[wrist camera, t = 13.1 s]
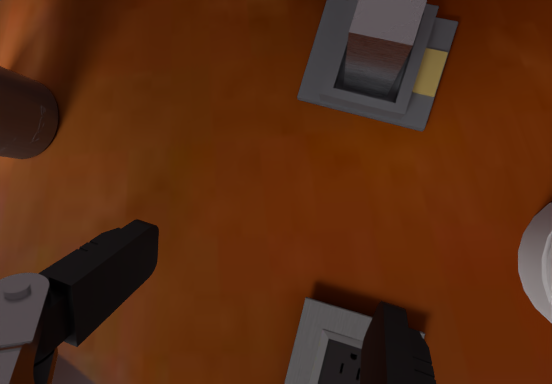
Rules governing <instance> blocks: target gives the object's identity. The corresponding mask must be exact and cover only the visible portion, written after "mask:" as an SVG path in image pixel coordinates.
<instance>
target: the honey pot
mask: <svg viewBox="0 0 552 384" xmlns="http://www.w3.org/2000/svg"><path fill="white" fill-rule="evenodd" d="M518 272H519V275H520V278H521V282H522V285H523V288H524V291H525V292H526V294H527V296H528V297H529V299H530V300H531V302H532V303H533V305H534V307H535V308H536V309H537V310H538V311H539V312H540V313H541V314H542V315H543V316H545V317H546V318H547V319H548V320H549V321H550V322H551V323H552V202H551V203H549V204H548V205H547V206H545V207H544V208H543V209H542V210H541V211H540V212H539V213H538V214H537V215H535V216H534V217H533V219H532V221H531V222H530V224H529V225H528V227H527V228H526V230H525V232H524V233H523V236H522V240H521V243H520V247H519V250H518Z"/></svg>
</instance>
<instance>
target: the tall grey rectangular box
mask: <svg viewBox="0 0 552 384" xmlns="http://www.w3.org/2000/svg"><path fill="white" fill-rule="evenodd" d="M426 2H427V0H358V4H357V7H356V10H355V13H354V17H353V20H352V23H351V26H350V30H349V35H348V45H347V55H346V65H345V75H344V85H343V88H348V89H352V90H356V91H360V92H364V93H368V94H373V95H377V96H381V97H385V98H386V96H387V94H388V92H389V90H390V89H391V87H392V85H393V83H394V81H395V79H396V77H397V75H398V73H399V71H400V69H401V67H402V65H403V64H404V62H405V60H406V58H407V56H408V54H409V52H410V50H411V48H412V46H413V43H414V40H415V37H416V34H417V31H418V27H419V24H420V21H421V18H422V15H423V11H424V8H425V5H426Z"/></svg>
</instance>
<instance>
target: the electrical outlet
mask: <svg viewBox="0 0 552 384" xmlns="http://www.w3.org/2000/svg"><path fill="white" fill-rule="evenodd" d="M372 318H373V317H371V316H367V315H364V314H361V313H357V312H354V311H351V310H348V309H344V308H341V307H338V306H334V305H331V304H328V303H324V302H321V301H318V300H314V299H311V298H308V297H306V299H305V303H304V307H303V311H302V315H301V319H300V323H299V327H298V331H297V335H296V339H295V343H294V347H293V351H292V355H291V359H290V364H289V368H288V372H287V376H286V380H285V384H360V368H361V349H362V344H363V340H364V336H365V334H366V331H367V329H368V327H369V325H370V322H371V320H372ZM419 332H420V331H419ZM420 334H421V335H422V337H423V339H424V336H425V333H424V332H420Z"/></svg>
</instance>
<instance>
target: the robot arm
mask: <svg viewBox="0 0 552 384" xmlns="http://www.w3.org/2000/svg"><path fill="white" fill-rule="evenodd" d="M57 125H58V108H57V103H56V101H55V98H54V96H53V95H52V93H51V92H50V90H49V89H48V88H46V87H45V86H44V85H43V84H41V83H39V82H37V81H35V80H32V79H30V78H27V77H25V76H23V75H20V74H18V73H15V72H13V71H10V70H8V69H5V68H3V67H1V66H0V156H2V157H9V158H17V159H27V158H31V157H34V156H36V155H38V154H39V153H41V152H42V151H44V150H45V148H46V147H47V146H48V145H49V144H50V142H51V141H52V139H53V138H54V135H55V133H56V130H57ZM158 236H159V229H158V227H157V226H156V225H153V224H150V223H147V222H144V221H141V220H138V219H137V220H134V221H132V222H131V223H129V224H128V225H126V226H125V227H123V228H122V229H120V228H116V229H113V230H110V231H107V232H104V233H102V234H100V235H99V236H97V237H95V238H94V239H92V240H91V241H90V242H89V243H88V242H87V243H86V244H84V245H83V246H81V247H80V248H79V250H78V249H76V250H75V251H73V252H72V253H70V254H69V255H67V256H65V257H64V258H62V259H61V260H59V261H57V262H56V263H54V264H53V265H51V266H50V267H48V268H46V269H45V270H43V271H42V272H40V273H39V274H36V273H21V274H15V275H12V276H8V277H6V278H3V279H1V280H0V384H51V383H52V379H53V374H54V370H55V365H56V361H57V356H58V349H57V346H58V345H60V344H61V343H62V342H63V341H64V342H66V343H69V344H71V345H73V346H76V347H78V346H79V345H80V344H81V343H82V342H83V341H84V340H85V339H86V338H87V337H88V336H89V335H90V334H91V333H92V332H93V331H94V330H95V329H96V328H97V327H98V326H99V325H100V324H101V323H102V322H103V321H104V320H106V319H107V318H108V317H109V316H110V315H111V314H112V313H113V312H114V311H115V310H116V309H117V308H118V307H119V306H120V305H121V304H122V303H123V302H124V301H125V300H126V299H127V298H128V297H129V296H130V295H131V294H132V293H133V292H134V291H135V290H137V289H138V288H139V287H140V286H141V285H142V284H143V283H144V282H145V281H146V280H147V279H148V278H149V277H150V276H151V274H152V273H153V271H154V269H155V267H156V264H157V256H158ZM431 365H432V361H431V356H430V351H429V347H428V345H427V344H426V342H425V340H424V339H423V337H422V335H421V334H420V332H419V331H417V330H414V329H411V328H408V321H407V314H406V310H405V309H404V308H401V307H398V306H395V305H392V304H389V303H386V302H383V301H381V302H380V303H379V304H378V306H377V309H376V311H375V313H374V315H373V318H372V320H371V322H370V325H369V327H368V329H367V331H366V334H365V336H364V340H363V344H362V349H361V368H360V384H436V380H434V377H435V376H434V371H433V366H431Z"/></svg>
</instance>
